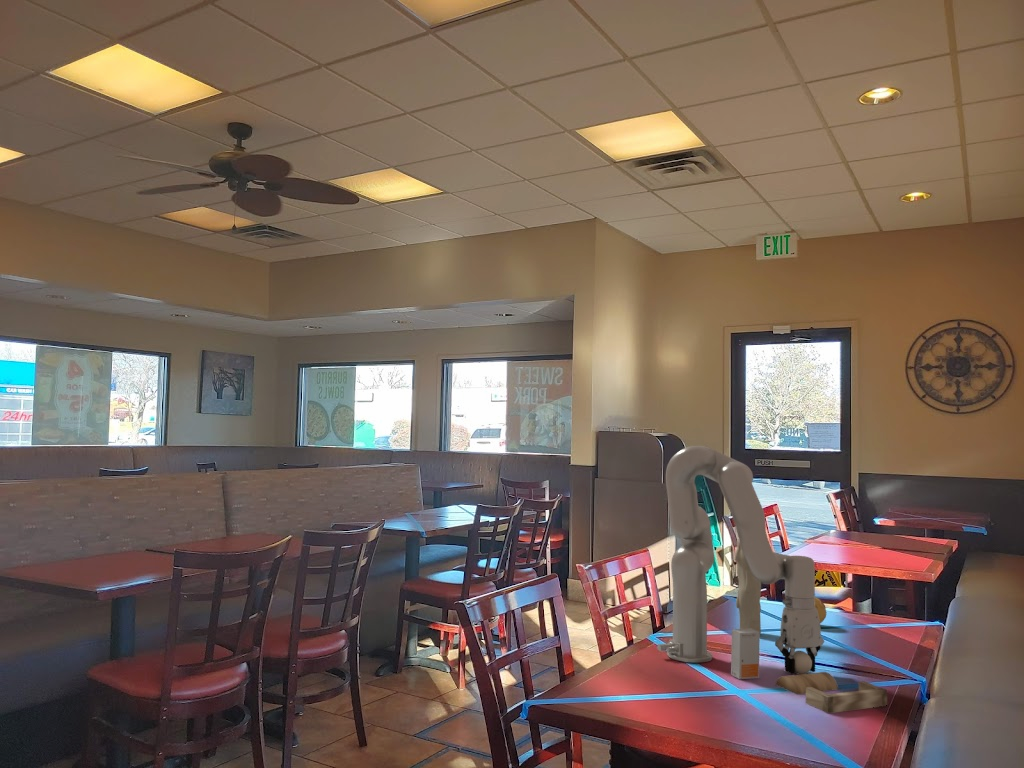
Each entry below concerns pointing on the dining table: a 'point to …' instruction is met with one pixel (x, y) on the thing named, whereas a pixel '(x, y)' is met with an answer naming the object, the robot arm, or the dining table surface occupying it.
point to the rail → (847, 698)
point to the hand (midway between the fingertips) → (800, 670)
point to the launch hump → (807, 682)
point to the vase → (747, 593)
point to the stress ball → (820, 609)
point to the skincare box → (745, 653)
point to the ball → (802, 662)
